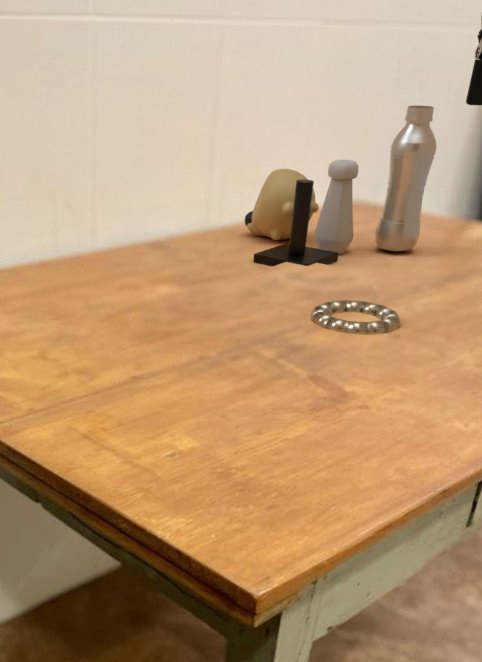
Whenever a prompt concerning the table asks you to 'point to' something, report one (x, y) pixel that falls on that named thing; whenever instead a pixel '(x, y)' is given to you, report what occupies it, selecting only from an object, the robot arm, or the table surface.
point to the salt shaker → (337, 208)
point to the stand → (297, 236)
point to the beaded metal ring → (324, 320)
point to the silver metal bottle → (407, 181)
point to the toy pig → (276, 205)
